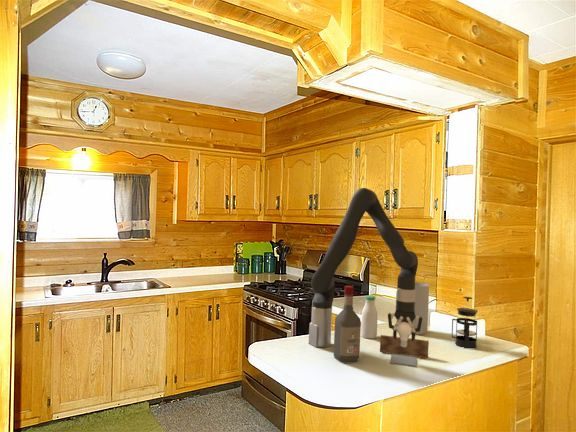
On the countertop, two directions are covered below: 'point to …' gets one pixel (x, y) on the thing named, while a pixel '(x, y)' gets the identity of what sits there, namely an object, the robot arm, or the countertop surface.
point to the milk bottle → (369, 319)
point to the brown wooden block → (412, 349)
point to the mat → (403, 360)
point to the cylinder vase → (421, 306)
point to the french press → (466, 327)
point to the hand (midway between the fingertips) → (403, 339)
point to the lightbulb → (404, 333)
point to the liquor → (347, 331)
